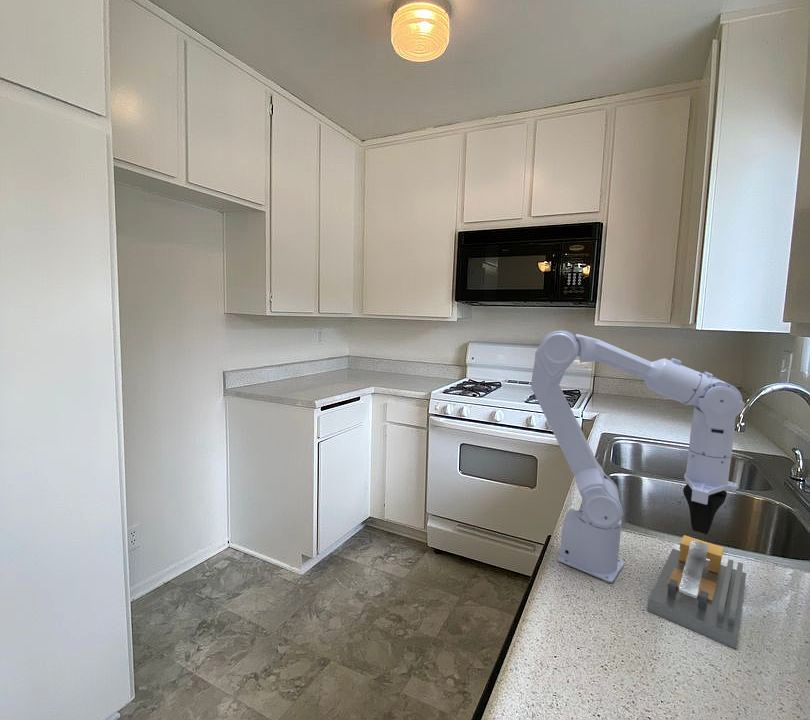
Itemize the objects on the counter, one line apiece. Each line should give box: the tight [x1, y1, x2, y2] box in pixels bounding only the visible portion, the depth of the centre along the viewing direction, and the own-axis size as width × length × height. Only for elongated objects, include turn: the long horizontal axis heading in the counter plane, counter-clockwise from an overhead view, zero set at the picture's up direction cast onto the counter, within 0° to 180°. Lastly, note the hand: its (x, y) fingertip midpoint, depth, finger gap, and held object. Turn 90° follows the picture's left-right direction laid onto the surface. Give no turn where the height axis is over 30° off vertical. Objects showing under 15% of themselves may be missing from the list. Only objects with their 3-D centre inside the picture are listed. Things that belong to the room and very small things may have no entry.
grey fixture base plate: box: [647, 548, 747, 650], centre depth 70 cm, size 11×20×4 cm, turn 138°
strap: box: [679, 540, 708, 599], centre depth 69 cm, size 2×11×1 cm, turn 138°
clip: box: [679, 534, 724, 573], centre depth 76 cm, size 6×4×3 cm, turn 48°
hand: (700, 530), depth 71 cm, fingers closed
